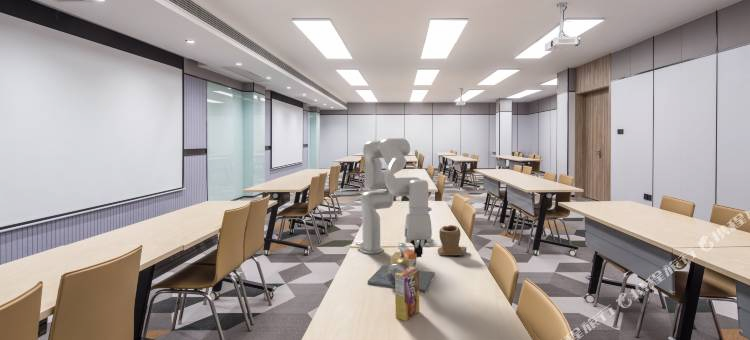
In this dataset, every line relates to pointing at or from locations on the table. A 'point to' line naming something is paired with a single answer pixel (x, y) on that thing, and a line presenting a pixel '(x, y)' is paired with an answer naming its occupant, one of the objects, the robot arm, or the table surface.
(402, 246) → the valve lever
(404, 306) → the candy box
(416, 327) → the table surface
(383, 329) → the table surface
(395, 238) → the table surface
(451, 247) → the stone cup
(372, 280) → the valve body
